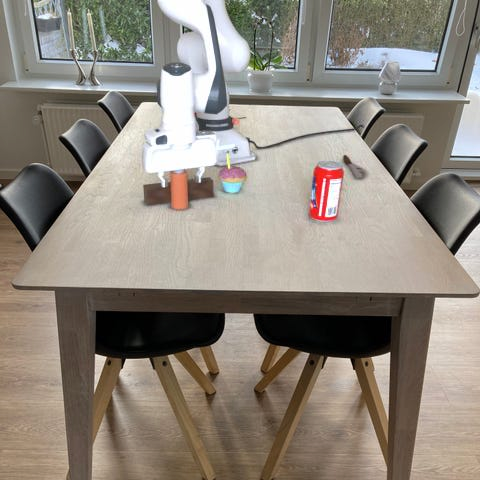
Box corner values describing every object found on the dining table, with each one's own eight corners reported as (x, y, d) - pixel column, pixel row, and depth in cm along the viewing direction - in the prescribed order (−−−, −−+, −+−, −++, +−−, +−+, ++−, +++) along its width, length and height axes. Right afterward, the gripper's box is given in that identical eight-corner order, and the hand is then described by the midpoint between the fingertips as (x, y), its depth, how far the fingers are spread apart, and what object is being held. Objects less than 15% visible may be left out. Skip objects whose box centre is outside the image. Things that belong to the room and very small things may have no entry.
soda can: (329, 226, 139) (337, 171, 131) (303, 219, 143) (309, 164, 134) (341, 217, 145) (349, 163, 137) (315, 210, 148) (322, 157, 140)
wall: (209, 193, 156) (209, 177, 154) (213, 196, 154) (213, 180, 151) (144, 201, 149) (143, 184, 146) (147, 205, 147) (146, 188, 144)
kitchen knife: (369, 177, 171) (354, 175, 171) (367, 182, 172) (353, 180, 172) (356, 155, 188) (342, 153, 188) (354, 160, 189) (341, 158, 189)
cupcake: (225, 196, 155) (226, 155, 148) (213, 187, 161) (213, 147, 154) (251, 192, 158) (252, 152, 151) (238, 183, 164) (239, 144, 157)
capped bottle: (185, 202, 150) (184, 163, 144) (190, 208, 146) (189, 168, 140) (168, 204, 148) (167, 165, 142) (174, 210, 145) (172, 170, 138)
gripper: (211, 126, 142) (211, 176, 150) (138, 133, 135) (142, 185, 143) (220, 132, 138) (220, 183, 146) (145, 140, 130) (149, 193, 138)
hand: (181, 184), depth 144 cm, fingers open, 8 cm apart
